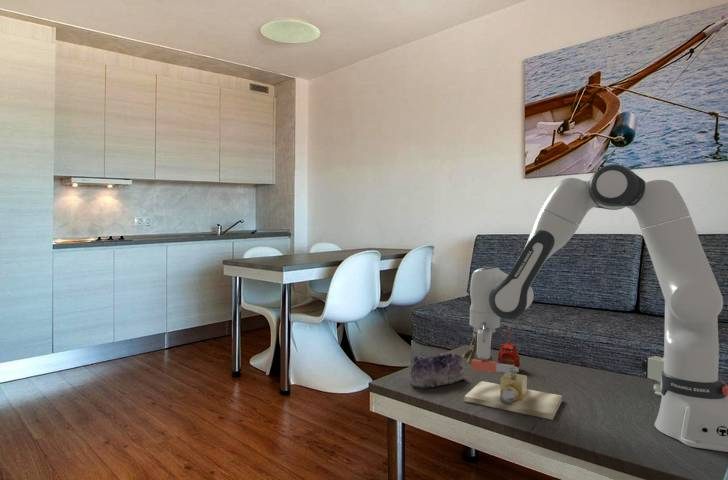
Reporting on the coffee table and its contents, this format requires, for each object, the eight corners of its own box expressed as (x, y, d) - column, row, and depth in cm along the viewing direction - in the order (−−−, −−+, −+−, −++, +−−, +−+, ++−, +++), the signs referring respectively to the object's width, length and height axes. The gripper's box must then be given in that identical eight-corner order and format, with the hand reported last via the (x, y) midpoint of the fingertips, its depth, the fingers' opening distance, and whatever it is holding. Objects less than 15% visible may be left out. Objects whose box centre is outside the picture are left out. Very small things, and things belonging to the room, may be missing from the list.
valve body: (530, 391, 140) (530, 371, 140) (517, 408, 127) (518, 386, 126) (509, 387, 143) (510, 368, 143) (495, 404, 130) (495, 382, 130)
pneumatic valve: (682, 403, 135) (683, 362, 134) (640, 391, 145) (641, 352, 144) (691, 399, 138) (692, 359, 137) (649, 388, 148) (650, 350, 147)
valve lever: (519, 375, 136) (519, 364, 135) (518, 377, 133) (518, 366, 133) (473, 368, 141) (473, 358, 141) (471, 371, 139) (471, 360, 139)
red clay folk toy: (497, 370, 164) (497, 328, 164) (497, 365, 171) (498, 324, 170) (519, 373, 162) (520, 330, 161) (519, 367, 168) (520, 326, 168)
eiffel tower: (495, 363, 173) (497, 297, 172) (467, 363, 173) (468, 296, 172) (487, 356, 183) (489, 293, 183) (461, 355, 183) (462, 292, 183)
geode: (428, 394, 140) (425, 361, 141) (403, 389, 150) (399, 357, 150) (472, 379, 153) (468, 348, 153) (446, 374, 162) (442, 346, 163)
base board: (561, 400, 136) (562, 395, 136) (552, 419, 122) (552, 413, 122) (481, 385, 148) (481, 381, 148) (464, 401, 134) (464, 396, 134)
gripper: (495, 327, 129) (494, 376, 130) (495, 314, 149) (494, 357, 150) (472, 326, 131) (471, 374, 132) (475, 313, 151) (474, 355, 151)
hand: (483, 365), depth 141 cm, fingers closed
